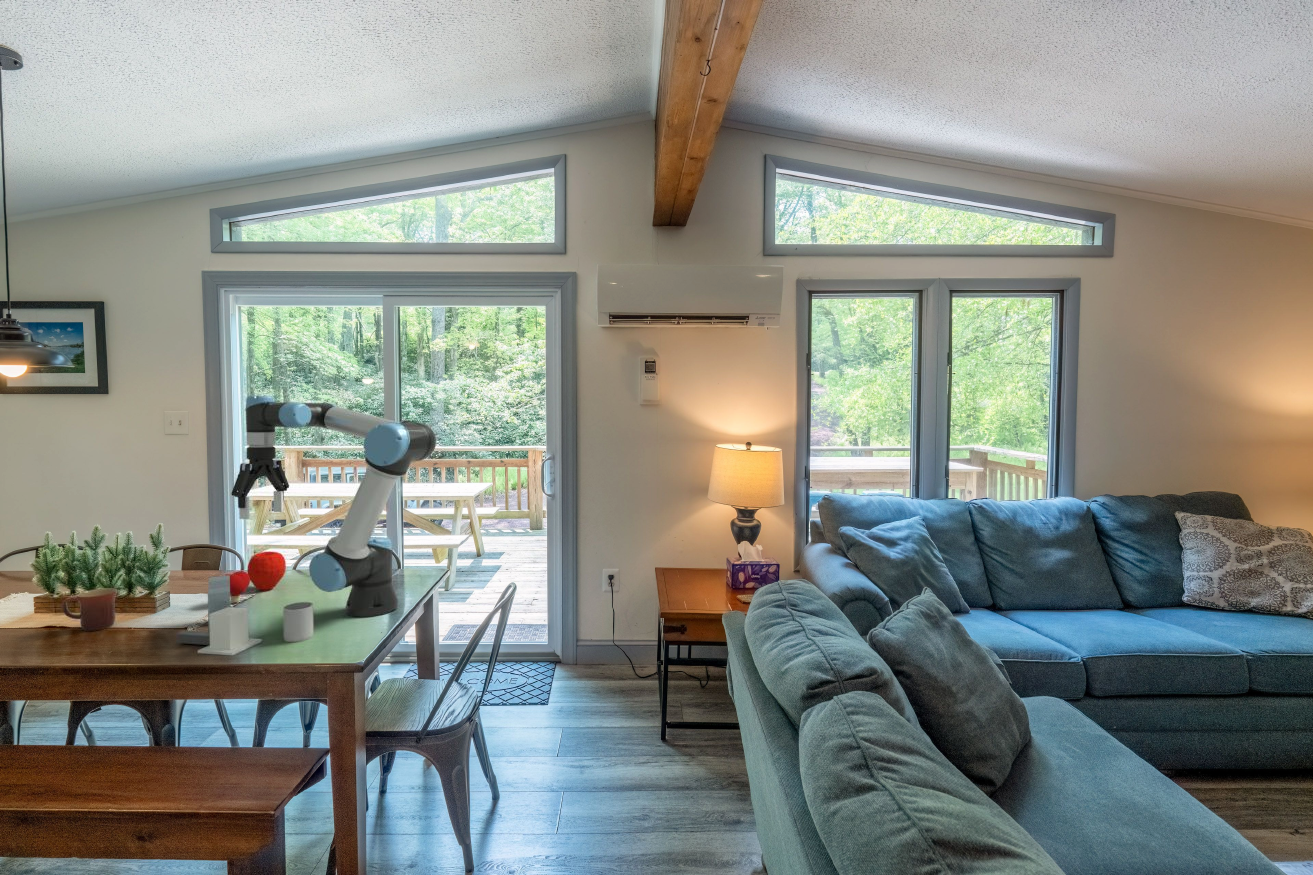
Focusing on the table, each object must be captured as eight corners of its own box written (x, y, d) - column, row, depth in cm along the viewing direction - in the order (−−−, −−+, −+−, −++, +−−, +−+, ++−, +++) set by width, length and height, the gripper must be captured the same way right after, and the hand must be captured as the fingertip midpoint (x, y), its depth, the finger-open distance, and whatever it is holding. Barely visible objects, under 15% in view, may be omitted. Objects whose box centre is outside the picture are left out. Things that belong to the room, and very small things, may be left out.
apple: (293, 588, 222) (293, 550, 221) (257, 595, 212) (257, 556, 211) (276, 582, 228) (275, 546, 228) (240, 590, 218) (240, 552, 218)
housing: (230, 617, 190) (229, 575, 189) (230, 637, 173) (230, 591, 173) (210, 620, 187) (209, 577, 186) (208, 641, 170) (207, 594, 170)
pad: (261, 641, 171) (261, 639, 171) (232, 655, 161) (231, 653, 161) (229, 638, 172) (229, 636, 172) (197, 652, 162) (197, 650, 162)
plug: (171, 645, 166) (170, 611, 165) (191, 637, 172) (190, 604, 171) (230, 649, 163) (229, 615, 163) (248, 641, 169) (248, 608, 169)
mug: (122, 620, 186) (121, 586, 186) (113, 630, 178) (112, 594, 178) (69, 626, 180) (68, 591, 180) (57, 636, 173) (56, 599, 172)
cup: (281, 643, 169) (281, 611, 169) (287, 631, 178) (287, 600, 178) (311, 640, 172) (311, 608, 172) (316, 628, 181) (315, 598, 181)
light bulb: (232, 608, 199) (231, 577, 198) (213, 606, 200) (213, 575, 200) (256, 599, 208) (256, 569, 207) (238, 598, 209) (238, 568, 209)
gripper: (280, 443, 204) (281, 508, 205) (215, 448, 180) (217, 521, 181) (301, 444, 203) (301, 509, 204) (239, 448, 179) (240, 522, 179)
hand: (262, 515), depth 192 cm, fingers open, 13 cm apart
